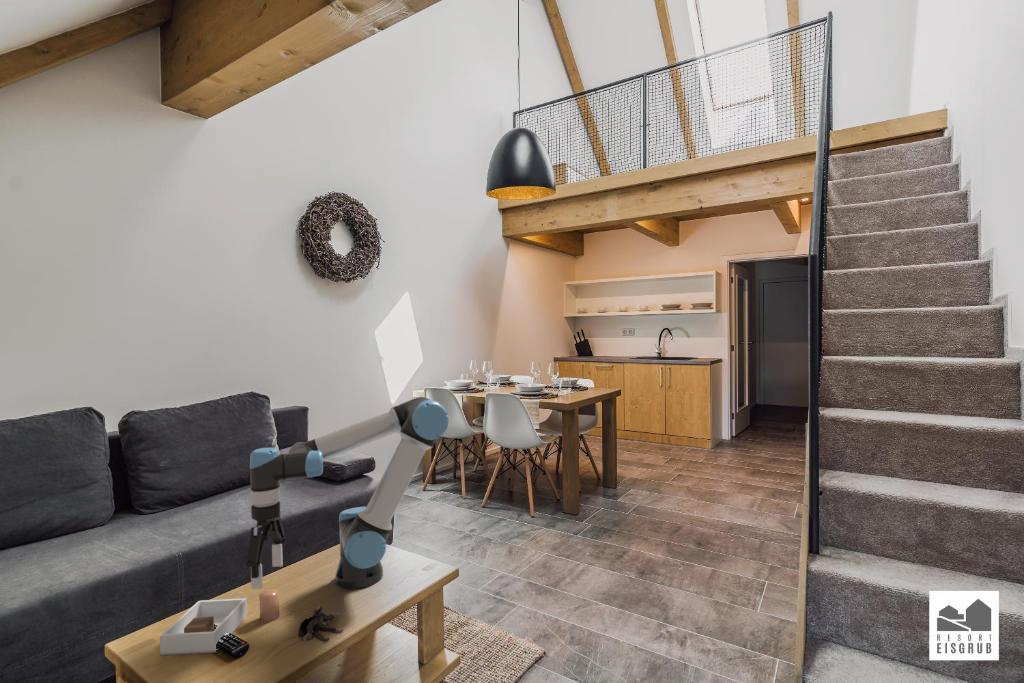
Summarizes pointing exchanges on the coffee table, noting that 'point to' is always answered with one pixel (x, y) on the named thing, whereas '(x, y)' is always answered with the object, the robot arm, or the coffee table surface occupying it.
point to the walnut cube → (200, 625)
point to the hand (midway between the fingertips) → (267, 576)
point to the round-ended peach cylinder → (269, 605)
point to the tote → (225, 617)
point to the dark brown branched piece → (317, 625)
